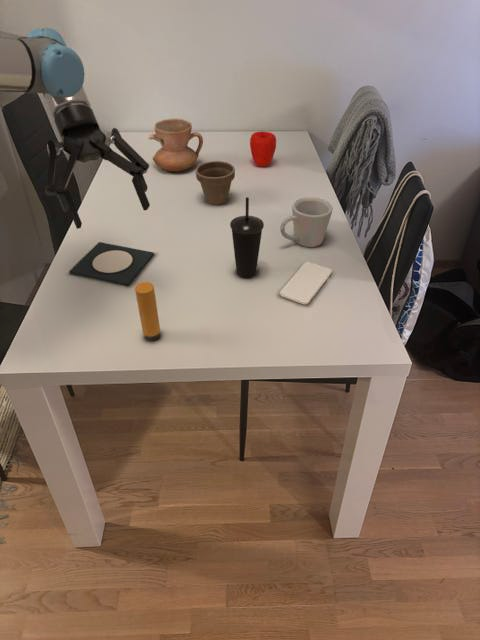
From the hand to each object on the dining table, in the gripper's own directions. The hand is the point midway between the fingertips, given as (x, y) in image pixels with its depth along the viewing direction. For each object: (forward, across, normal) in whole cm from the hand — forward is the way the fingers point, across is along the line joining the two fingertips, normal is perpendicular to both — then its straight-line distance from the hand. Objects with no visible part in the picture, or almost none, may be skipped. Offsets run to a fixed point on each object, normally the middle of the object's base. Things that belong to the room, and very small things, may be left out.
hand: (114, 217), depth 91 cm
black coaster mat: (+3, -3, -30) cm, 30 cm away
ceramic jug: (-28, -43, -61) cm, 80 cm away
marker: (+24, 0, -9) cm, 25 cm away
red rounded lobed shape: (-19, -69, -51) cm, 88 cm away
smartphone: (+26, -39, -7) cm, 47 cm away
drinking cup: (+18, -29, -15) cm, 37 cm away
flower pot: (-8, -42, -41) cm, 59 cm away
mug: (+15, -50, -18) cm, 55 cm away
